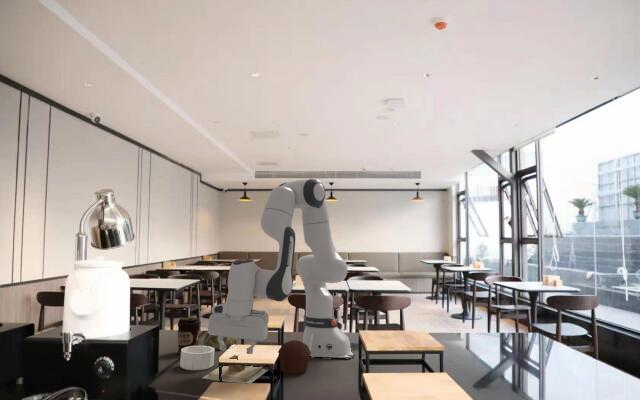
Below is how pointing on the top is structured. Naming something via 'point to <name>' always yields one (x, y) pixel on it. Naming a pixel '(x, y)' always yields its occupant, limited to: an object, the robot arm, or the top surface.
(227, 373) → the lid
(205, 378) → the mat
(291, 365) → the muffin
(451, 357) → the top surface
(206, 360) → the bowl
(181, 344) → the coffee cup
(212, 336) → the pastry
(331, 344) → the robot arm
